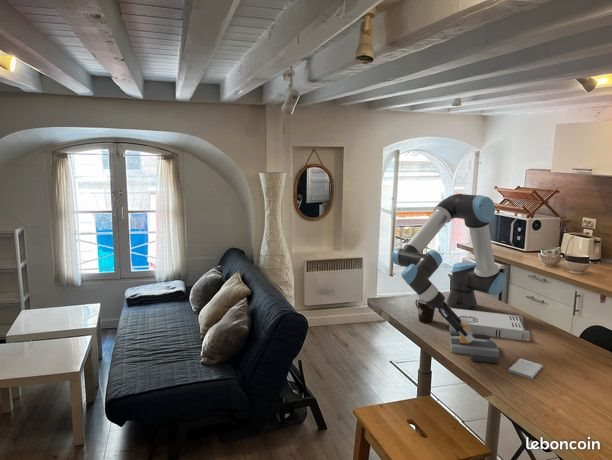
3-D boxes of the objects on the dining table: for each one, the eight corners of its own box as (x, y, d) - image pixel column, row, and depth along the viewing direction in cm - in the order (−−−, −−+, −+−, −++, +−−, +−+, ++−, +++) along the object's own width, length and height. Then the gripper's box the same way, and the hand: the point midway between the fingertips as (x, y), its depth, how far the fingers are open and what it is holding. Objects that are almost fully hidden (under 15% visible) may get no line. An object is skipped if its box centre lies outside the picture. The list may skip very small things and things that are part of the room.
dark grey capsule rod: (470, 361, 172) (471, 356, 171) (470, 359, 174) (470, 353, 173) (499, 365, 169) (500, 359, 169) (498, 362, 172) (498, 356, 171)
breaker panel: (451, 352, 180) (451, 346, 179) (449, 341, 190) (449, 335, 190) (498, 357, 175) (499, 351, 175) (494, 346, 186) (494, 339, 186)
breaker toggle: (460, 342, 182) (461, 322, 180) (459, 338, 185) (460, 318, 184) (468, 343, 181) (469, 322, 179) (466, 339, 185) (468, 319, 183)
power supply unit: (528, 342, 191) (529, 331, 190) (449, 332, 201) (449, 321, 201) (522, 326, 209) (523, 316, 208) (449, 317, 219) (450, 308, 218)
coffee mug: (436, 324, 209) (438, 304, 207) (418, 324, 209) (419, 304, 207) (430, 315, 220) (431, 296, 218) (413, 315, 220) (414, 296, 218)
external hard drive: (507, 372, 165) (519, 361, 174) (531, 380, 159) (542, 368, 168) (508, 368, 164) (519, 357, 173) (531, 376, 159) (542, 364, 168)
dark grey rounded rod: (450, 337, 194) (450, 332, 194) (450, 335, 196) (450, 330, 196) (490, 341, 190) (490, 336, 190) (489, 339, 193) (489, 334, 192)
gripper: (424, 295, 192) (461, 335, 192) (425, 309, 176) (466, 352, 175) (437, 284, 190) (475, 324, 189) (440, 297, 174) (481, 341, 173)
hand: (470, 338), depth 182 cm, fingers open, 4 cm apart
